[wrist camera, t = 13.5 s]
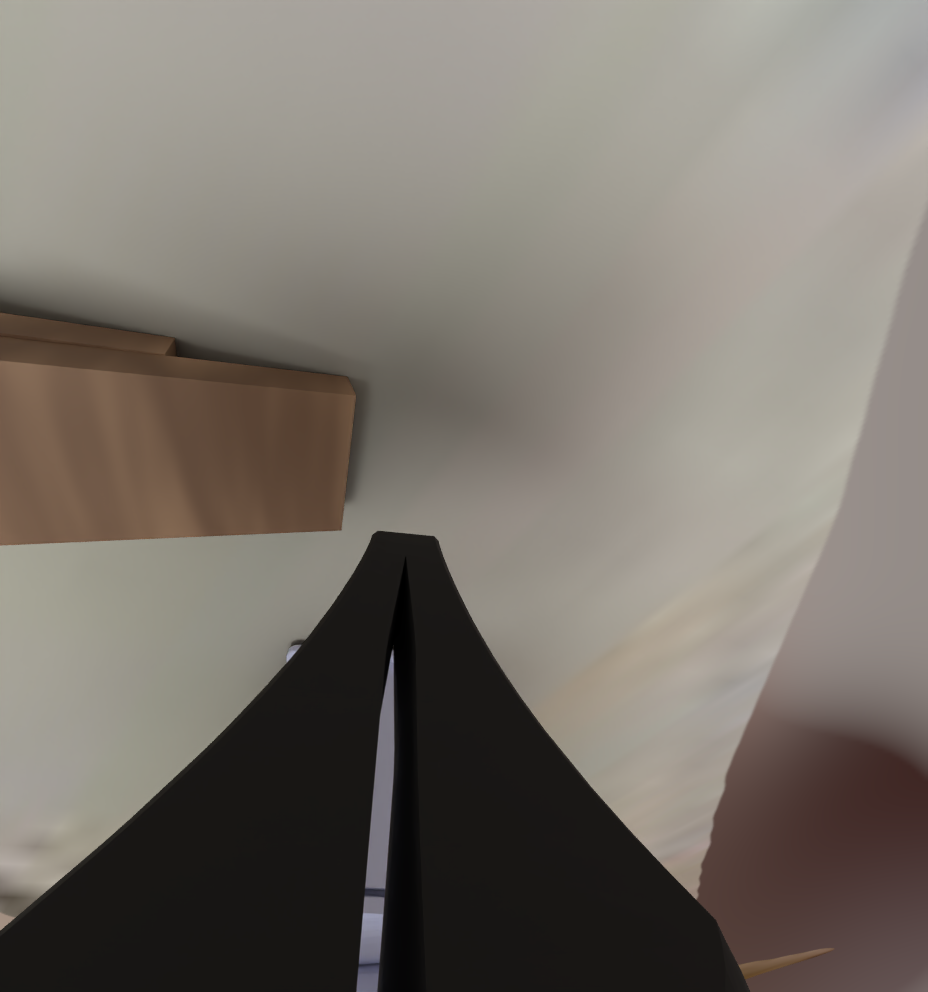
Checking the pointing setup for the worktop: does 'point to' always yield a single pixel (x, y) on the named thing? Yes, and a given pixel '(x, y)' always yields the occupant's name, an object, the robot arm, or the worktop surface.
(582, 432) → the worktop surface
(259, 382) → the brown wooden block
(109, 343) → the domino
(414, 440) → the worktop surface
